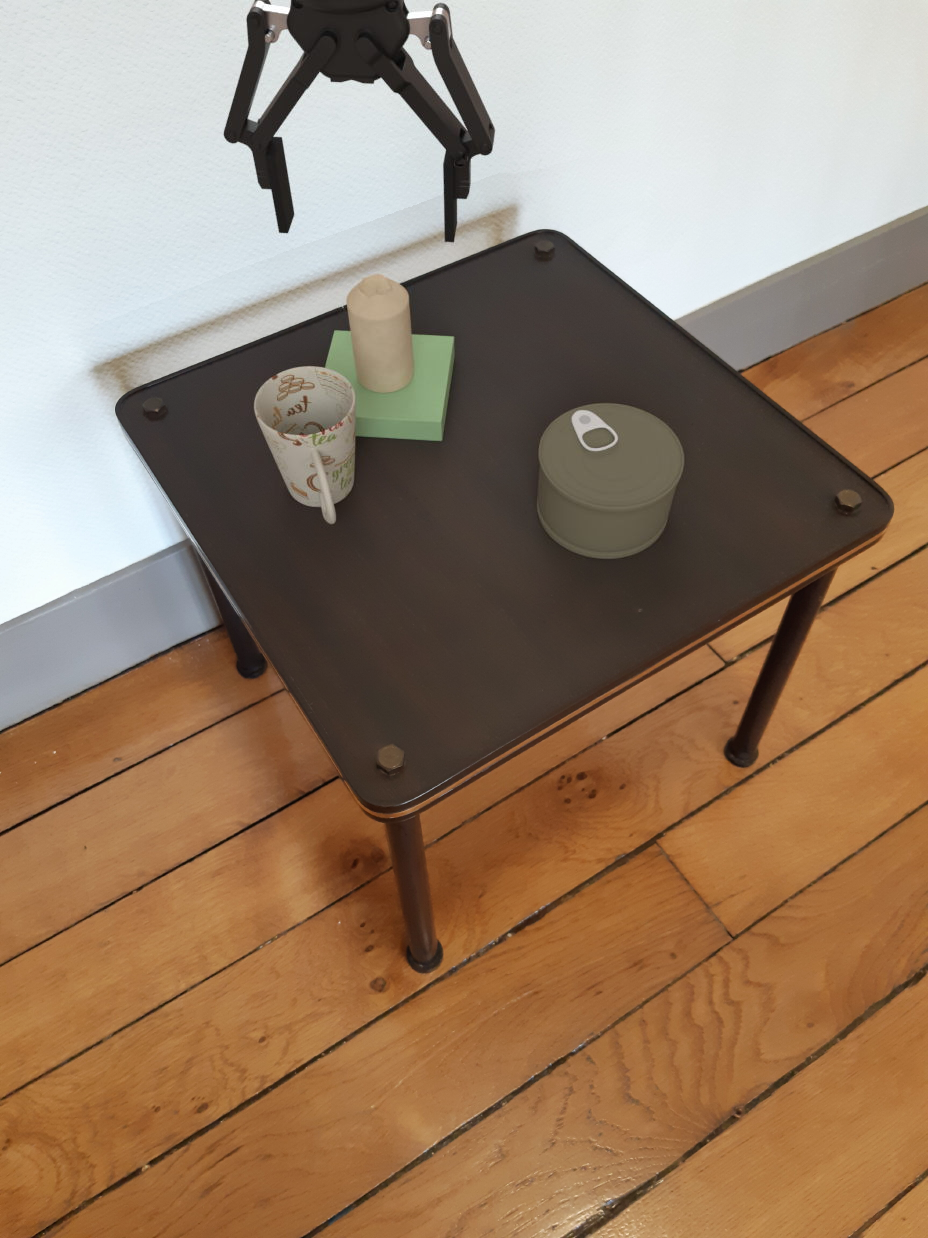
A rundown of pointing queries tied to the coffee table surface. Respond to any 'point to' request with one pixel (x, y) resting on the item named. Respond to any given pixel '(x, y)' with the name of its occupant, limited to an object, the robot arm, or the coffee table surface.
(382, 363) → the candle
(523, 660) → the coffee table surface
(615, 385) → the coffee table surface
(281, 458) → the mug
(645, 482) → the can
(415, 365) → the foam pad
